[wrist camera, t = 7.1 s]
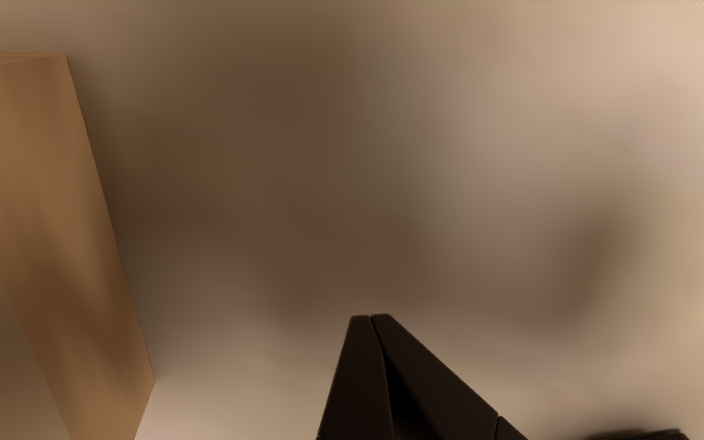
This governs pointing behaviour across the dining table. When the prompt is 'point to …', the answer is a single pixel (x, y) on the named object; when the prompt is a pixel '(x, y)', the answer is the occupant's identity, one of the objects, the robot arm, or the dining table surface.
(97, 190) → the light wood rectangular prism
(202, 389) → the dining table surface
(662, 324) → the dining table surface
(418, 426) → the robot arm
